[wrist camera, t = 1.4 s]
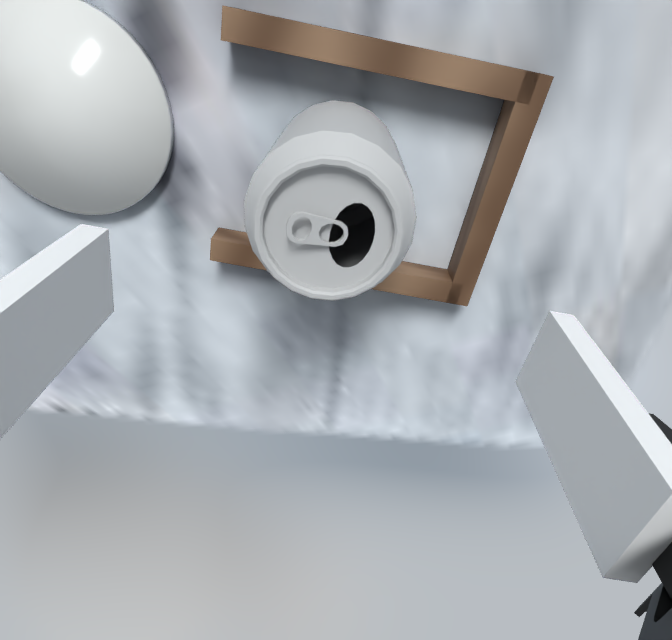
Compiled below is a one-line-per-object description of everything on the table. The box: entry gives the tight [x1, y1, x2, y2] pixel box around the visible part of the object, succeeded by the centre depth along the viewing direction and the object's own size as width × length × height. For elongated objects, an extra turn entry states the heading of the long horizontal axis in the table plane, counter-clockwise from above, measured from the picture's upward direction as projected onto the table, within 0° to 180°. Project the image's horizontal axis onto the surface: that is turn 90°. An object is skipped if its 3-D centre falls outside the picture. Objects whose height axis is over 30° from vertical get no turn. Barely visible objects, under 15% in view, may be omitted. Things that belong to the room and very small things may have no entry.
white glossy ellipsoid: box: [0, 0, 174, 215], centre depth 28 cm, size 12×12×1 cm
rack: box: [210, 6, 554, 306], centre depth 29 cm, size 17×14×2 cm
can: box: [244, 100, 417, 301], centre depth 24 cm, size 8×8×12 cm
